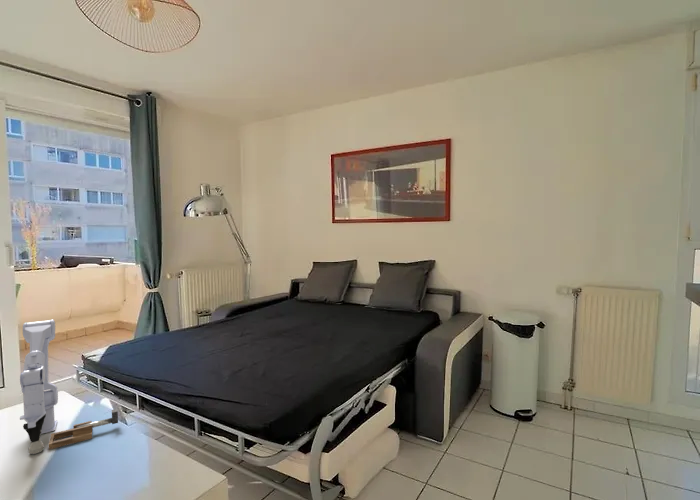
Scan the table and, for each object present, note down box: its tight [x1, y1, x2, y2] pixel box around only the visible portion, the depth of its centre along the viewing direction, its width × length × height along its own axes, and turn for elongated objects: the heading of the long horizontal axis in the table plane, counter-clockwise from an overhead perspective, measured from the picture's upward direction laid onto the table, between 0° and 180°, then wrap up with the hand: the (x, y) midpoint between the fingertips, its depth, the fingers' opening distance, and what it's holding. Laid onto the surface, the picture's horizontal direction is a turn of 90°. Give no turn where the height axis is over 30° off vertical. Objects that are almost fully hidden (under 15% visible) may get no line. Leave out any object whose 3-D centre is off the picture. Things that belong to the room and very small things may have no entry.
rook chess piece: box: [28, 431, 45, 455], centre depth 135 cm, size 4×4×8 cm
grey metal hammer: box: [77, 408, 119, 429], centre depth 148 cm, size 3×14×5 cm, turn 124°
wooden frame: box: [48, 420, 93, 450], centre depth 143 cm, size 9×13×4 cm
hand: (35, 438), depth 135 cm, fingers closed on rook chess piece, 3 cm apart
